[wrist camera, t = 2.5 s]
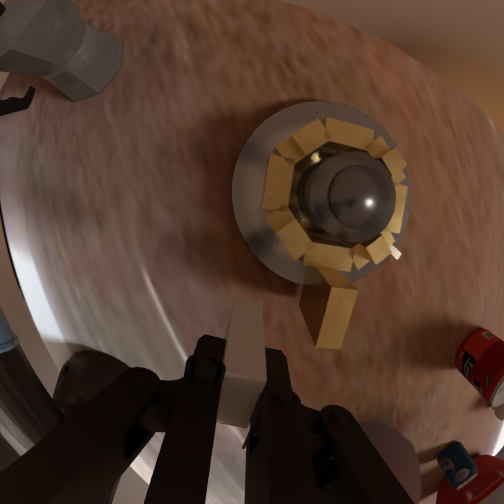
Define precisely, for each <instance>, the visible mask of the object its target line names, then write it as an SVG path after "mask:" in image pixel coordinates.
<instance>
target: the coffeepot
mask: <svg viewBox="0 0 504 504" xmlns="http://www.w3.org/2000/svg"><path fill="white" fill-rule="evenodd" d="M122 44H123V43H122V42H120V41H119V40H117V39H115V38H113V37H112V36H110V35H108V34H106V33H105V32H103V31H101V30H99V29H97V28H96V27H94V26H92V25H90V24H88V23H86V22H84V21H82V20H81V13H80V12H79V10H78V9H77V8H76V6H75V5H74V3H73V2H72V0H6V1H5V2H4V4H2V3H1V2H0V71H3V72H11V73H19V74H26V75H32V76H33V75H35V74H37V73H38V74H39V75H40V76H42V77H43V78H44V79H45V80H47V81H48V82H49V83H51V84H52V85H53V86H54V87H56V88H57V89H58V90H59V91H61V92H62V93H63V94H65V95H66V96H67V97H68V98H70V99H71V100H72V101H73V102H75V101H78V100H81V99H85V98H88V97H91V96H93V95H95V94H98V93H99V92H100V91H101V90H102V89H103V88H104V87H105V86H106V85H107V84H108V83H109V82H110V81H111V80H112V78H113V77H114V76H115V74H116V72H117V71H118V69H119V68H120V65H121V60H122ZM34 93H35V89H34V88H33V87H32V86H30V87H29V89H28V91H27V93H26V95H25V96H24V98H17V97H10V98H8V99H6V100H0V116H3V115H6V114H10V113H13V112H17V111H21V110H25V109H27V108H28V107H29V106H30V104H31V102H32V99H33V96H34Z"/></svg>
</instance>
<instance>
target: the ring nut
mask: <svg viewBox="0 0 504 504" xmlns="http://www.w3.org/2000/svg"><path fill="white" fill-rule="evenodd" d="M373 137H374V130H372V129H369V128H366V127H362V126H359V125H355V124H352V123H348V122H345V121H341V120H337V119H333V118H329V117H326V118H325V119H324V120H323V121H322V122H320V120H319V119H318V118H317V119H316V120H314V121H313V122H311V123H309V124H308V125H306V126H305V127H303V128H302V129H300V130H299V131H297V132H296V133H294V134H293V135H291V136H290V137H288V138H287V139H285V140H284V141H282V142H281V143H279V144H278V145H276V146H275V147H274V149H273V151H272V152H273V153H274V154H275V155H270V156H269V157H268V160H267V167H266V173H265V180H264V186H263V192H262V199H261V205H260V206H261V208H263V209H269V210H268V211H266V212H265V213H264V214H262V215H263V217H264V219H265V220H266V221H267V223H268V224H269V225H270V227H271V228H272V229H273V231H274V232H275V234H276V235H277V236H278V238H279V239H280V240H281V242H282V243H283V245H284V246H285V247H286V249H287V250H288V252H289V253H290V254H291V256H292V257H293V259H294V260H297V259H299V260H300V262H301V263H302V265H304V266H307V270H306V275H305V279H304V284H303V289H302V293H301V298H300V302H299V307H300V310H301V312H302V315H303V317H304V320H305V322H306V325H307V328H308V330H309V333H310V335H311V338H312V341H313V343H314V346H315V348H327V349H340V348H341V345H342V342H343V339H344V336H345V333H346V330H347V327H348V323H349V320H350V317H351V313H352V310H353V307H354V303H355V300H356V296H357V292H358V290H357V289H356V288H355V287H354V286H353V285H352V284H351V283H350V282H349V281H348V280H347V279H346V278H345V277H344V276H343V275H342V274H341V273H340V272H339V271H347V272H350V271H351V267H352V265H353V266H354V267H356V268H357V269H358V270H359V269H360V268H361V267H363V266H364V265H365V264H367V263H368V262H369V261H371V262H372V263H374V264H375V265H377V264H378V263H379V262H381V261H382V260H383V259H384V258H386V257H387V256H388V255H389V254H391V253H392V251H391V249H390V247H389V246H390V245H391V244H392V243H393V242H395V240H394V238H393V236H392V234H391V232H393V233H398V234H399V233H400V229H401V224H402V218H403V213H404V207H405V201H406V195H407V188H408V186H405V185H401V184H399V183H400V182H402V181H403V180H404V179H405V178H406V177H405V175H404V173H403V171H402V169H403V168H405V167H406V166H407V164H406V162H405V160H404V159H403V157H402V155H401V154H400V152H399V150H398V148H397V147H392V148H389V147H388V146H387V144H386V142H385V141H384V139H383V138H382V136H379V137H376V138H373ZM320 146H323V147H327V148H331V149H336V150H340V151H344V152H349V151H358V152H363V153H366V154H369V155H371V156H373V157H374V158H376V159H377V160H379V161H380V162H381V163H382V164H383V165H384V166H385V168H386V169H387V170H388V172H389V173H390V175H391V177H392V180H393V183H394V186H395V192H396V204H395V210H394V213H393V216H392V218H391V220H390V222H389V224H388V225H387V227H386V228H385V229H384V230H383V231H382V232H381V233H380V234H379V235H377V236H376V237H374V238H372V239H370V240H367V241H364V242H355V243H354V242H347V241H343V240H342V241H341V242H338V241H332V240H326V239H320V238H314V237H308V236H307V234H306V233H305V231H304V230H303V228H302V227H301V225H300V224H299V223H298V221H297V220H296V218H295V217H294V215H293V214H292V213H291V211H290V210H289V208H288V203H289V197H290V190H291V184H292V178H293V171H294V165H295V163H297V162H298V161H299V160H301V159H302V158H304V157H305V156H307V155H308V154H310V153H311V152H313V151H314V150H316V149H317V148H319V147H320ZM338 270H339V271H338Z"/></svg>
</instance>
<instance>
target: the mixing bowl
mask: <svg viewBox="0 0 504 504" xmlns="http://www.w3.org/2000/svg"><path fill="white" fill-rule="evenodd" d="M472 460H473V461H474V463H475V464H476V466H477V473H478V475H477V476H476V477H475V478H474V479H473V480H472V481H471V482H470V483H469V484H467V485H466V486H464V487H463V488H461V489H459V490H456V489H455V488H453V487H451V485H450V483H449V481H448V480H447V478H445V479H444V481H443V483H442V484H441V486H440V488H439V490H438V493H437V499H436V504H479V503H480V502H481V501H482V500H484V499H485V498H486V497H487V496H489V495H490V494H491V493H492V492H493V491H495V490H496V489H497V488H498V487H499V486H500V485H501V484H502V483H503V482H504V460H502V459H500V458H497V457H494V456H491V455H480V456H475V457H472Z"/></svg>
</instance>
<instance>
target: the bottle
mask: <svg viewBox="0 0 504 504" xmlns="http://www.w3.org/2000/svg"><path fill="white" fill-rule="evenodd" d="M492 409H493V410H494V411H495V415H496V417H497V418H498V419H500V420H501V421H502V420H504V403H503V404H501V405H500V406H497V407H493V406H492Z"/></svg>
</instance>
